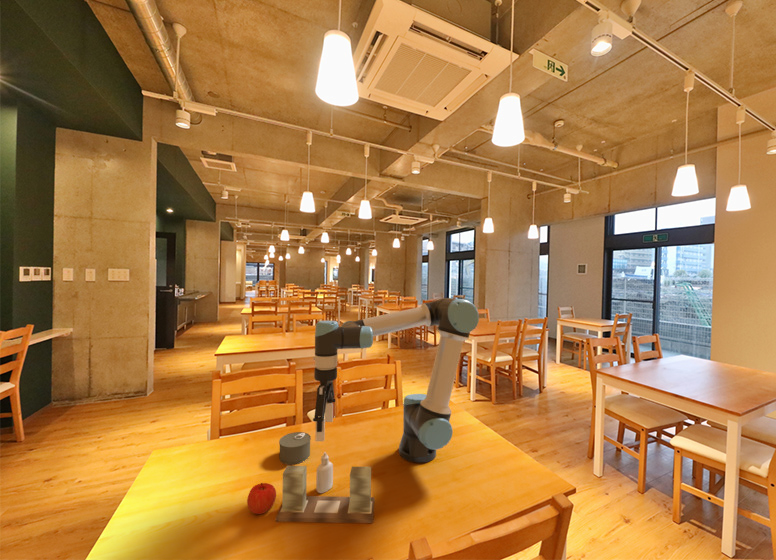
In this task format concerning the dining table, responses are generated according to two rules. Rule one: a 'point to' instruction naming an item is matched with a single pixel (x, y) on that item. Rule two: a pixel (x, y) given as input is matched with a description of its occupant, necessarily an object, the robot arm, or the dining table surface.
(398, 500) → the dining table surface
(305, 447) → the can
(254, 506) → the apple
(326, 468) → the eye dropper bottle
